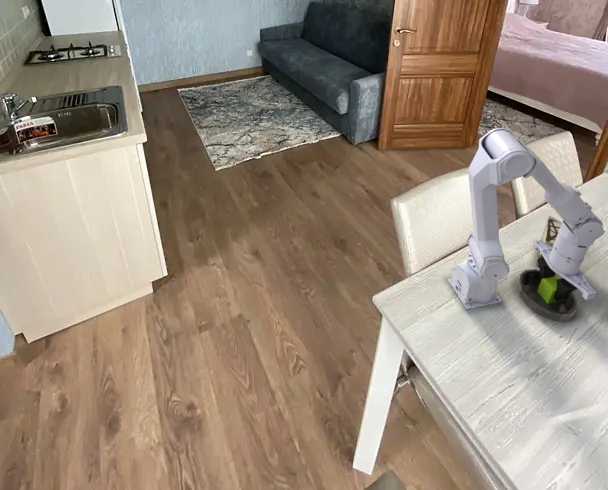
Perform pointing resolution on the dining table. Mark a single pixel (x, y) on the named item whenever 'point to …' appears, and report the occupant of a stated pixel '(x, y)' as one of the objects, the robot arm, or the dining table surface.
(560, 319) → the bowl
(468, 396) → the dining table surface
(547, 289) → the green block
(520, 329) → the dining table surface
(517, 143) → the robot arm
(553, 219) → the food container
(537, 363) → the dining table surface
